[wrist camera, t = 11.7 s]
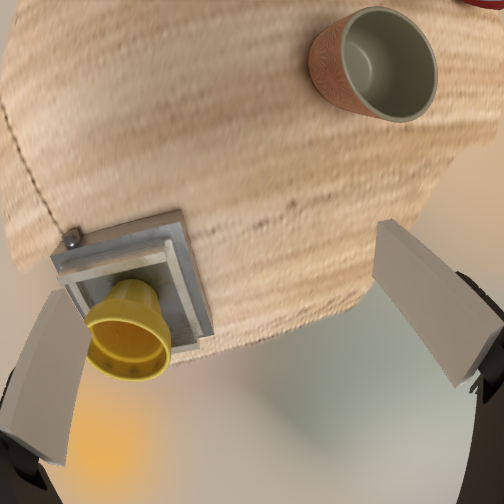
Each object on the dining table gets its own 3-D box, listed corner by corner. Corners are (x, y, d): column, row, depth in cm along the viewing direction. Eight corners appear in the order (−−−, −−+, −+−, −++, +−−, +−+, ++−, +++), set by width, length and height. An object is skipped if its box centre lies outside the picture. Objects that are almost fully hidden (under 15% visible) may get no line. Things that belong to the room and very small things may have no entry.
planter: (391, 103, 32) (447, 112, 23) (316, 124, 32) (362, 135, 23) (366, 22, 26) (419, 7, 16) (283, 34, 26) (321, 9, 17)
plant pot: (118, 249, 31) (98, 301, 23) (188, 291, 36) (189, 349, 27) (86, 303, 34) (67, 357, 25) (148, 337, 38) (144, 392, 30)
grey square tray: (57, 232, 32) (34, 260, 26) (178, 198, 34) (175, 222, 27) (109, 335, 42) (101, 369, 36) (212, 316, 44) (216, 352, 37)
